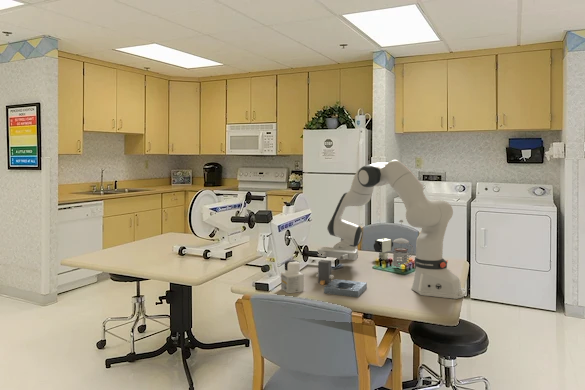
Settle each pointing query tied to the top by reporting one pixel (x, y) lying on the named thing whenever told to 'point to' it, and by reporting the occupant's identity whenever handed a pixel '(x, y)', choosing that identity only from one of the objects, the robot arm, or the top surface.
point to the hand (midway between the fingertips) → (332, 256)
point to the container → (292, 277)
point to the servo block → (324, 272)
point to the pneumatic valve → (383, 247)
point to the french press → (403, 252)
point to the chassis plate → (352, 287)
